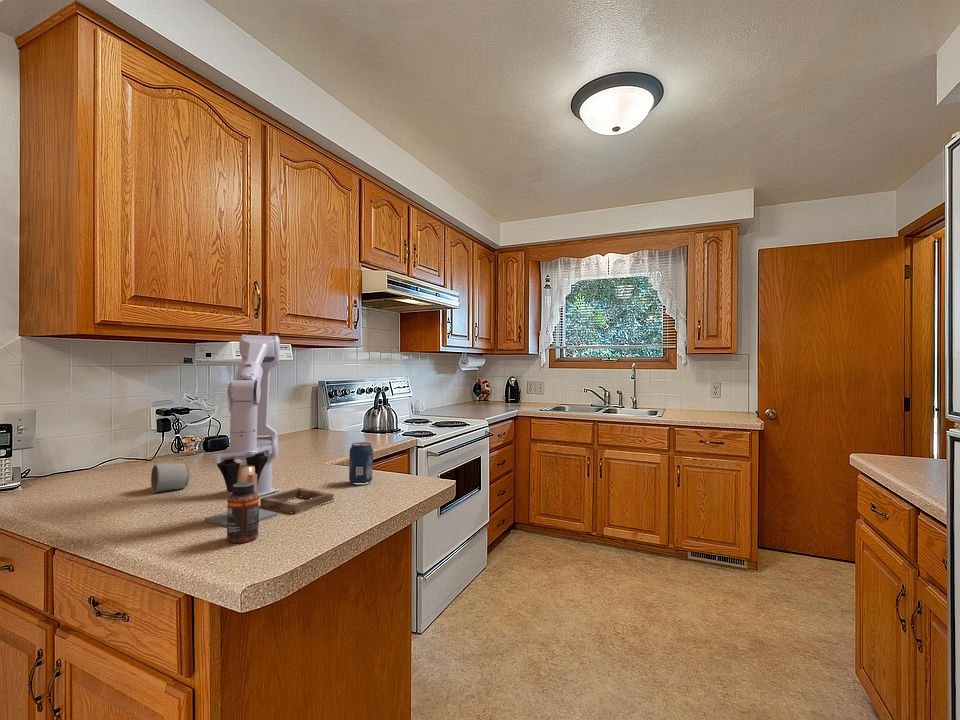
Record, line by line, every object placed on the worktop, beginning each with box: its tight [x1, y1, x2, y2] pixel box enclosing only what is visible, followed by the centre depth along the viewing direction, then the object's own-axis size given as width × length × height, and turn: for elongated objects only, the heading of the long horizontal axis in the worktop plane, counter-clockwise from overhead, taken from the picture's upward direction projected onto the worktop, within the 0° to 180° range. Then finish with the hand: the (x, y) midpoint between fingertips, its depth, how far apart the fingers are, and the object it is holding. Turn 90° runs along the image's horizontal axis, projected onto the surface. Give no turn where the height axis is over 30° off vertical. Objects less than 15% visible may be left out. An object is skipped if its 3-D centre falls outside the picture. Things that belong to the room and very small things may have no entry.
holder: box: [259, 487, 334, 514], centre depth 124 cm, size 12×12×2 cm
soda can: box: [348, 441, 374, 483], centre depth 147 cm, size 7×7×12 cm
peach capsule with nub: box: [230, 464, 257, 495], centre depth 112 cm, size 6×5×8 cm
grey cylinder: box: [150, 462, 190, 494], centre depth 137 cm, size 11×8×8 cm
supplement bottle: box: [226, 482, 260, 544], centre depth 99 cm, size 6×6×11 cm
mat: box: [204, 508, 279, 528], centre depth 113 cm, size 11×11×1 cm
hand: (242, 489), depth 113 cm, fingers closed on peach capsule with nub, 5 cm apart
